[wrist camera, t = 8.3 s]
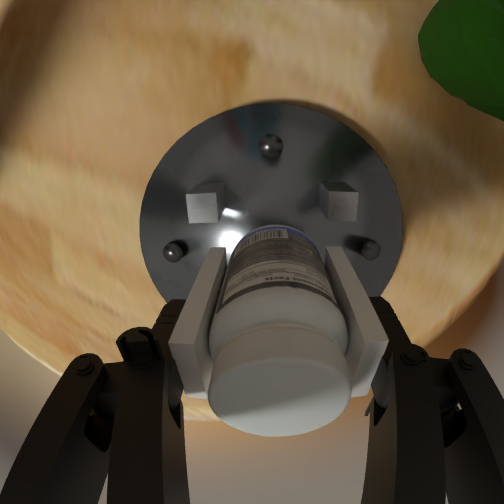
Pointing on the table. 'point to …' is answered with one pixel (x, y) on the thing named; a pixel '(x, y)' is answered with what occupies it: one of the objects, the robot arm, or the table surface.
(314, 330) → the pill bottle
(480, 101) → the bell pepper
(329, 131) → the hub
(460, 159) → the table surface
